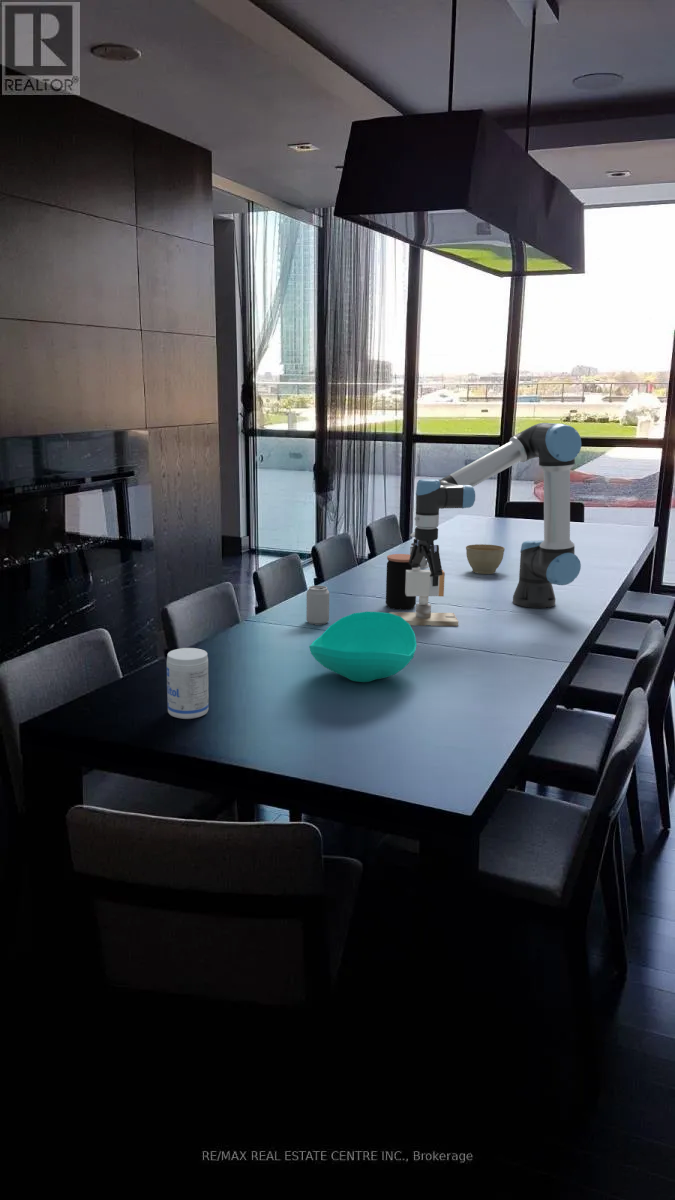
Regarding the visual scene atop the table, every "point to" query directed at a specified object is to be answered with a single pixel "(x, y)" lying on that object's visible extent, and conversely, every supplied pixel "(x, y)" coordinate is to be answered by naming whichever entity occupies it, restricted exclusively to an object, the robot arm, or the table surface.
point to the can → (317, 605)
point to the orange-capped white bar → (422, 584)
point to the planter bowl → (484, 557)
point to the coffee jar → (398, 582)
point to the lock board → (429, 621)
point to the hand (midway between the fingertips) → (424, 591)
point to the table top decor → (366, 646)
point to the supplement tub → (187, 683)
